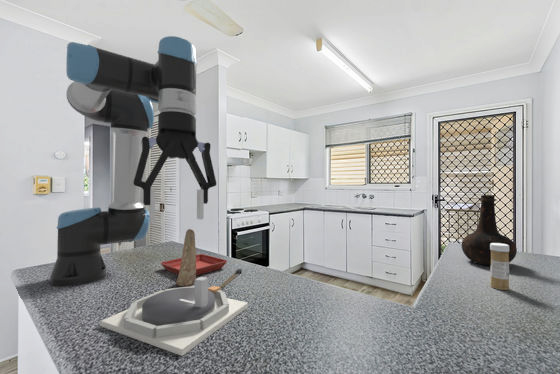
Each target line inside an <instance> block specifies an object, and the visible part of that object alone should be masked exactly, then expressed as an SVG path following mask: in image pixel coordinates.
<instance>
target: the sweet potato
mask: <svg viewBox="0 0 560 374" xmlns="http://www.w3.org/2000/svg"><path fill="white" fill-rule="evenodd" d="M183 240H184V241H183V248H182V255H181V258H182V259H181V265H180V270H179V275H177V276H178V277H177V279H176V282H175V284H176V285H177V286H178V287H179V288H181V287H190V286H194V285H195V279H197V275H196V255H197V249H196V234H195V231H194V230H193V229H191V228H189V229H187V230H186V232H185V236H184V239H183Z"/></svg>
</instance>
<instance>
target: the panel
mask: <svg viewBox="0 0 560 374" xmlns="http://www.w3.org/2000/svg"><path fill="white" fill-rule="evenodd" d="M179 288H195V285H191V286H187V287H186V286H184V287H182V286H181V287H173V288H166V289H161V290H159V291H157V292H156V291H155V292H154V293H153V292H152V293H151V294H148V295H146V296H144V297H141V298H139V299H136V300H134V301H133V302H131V303H130V305H129V307H128V309H126V310H123V311H121V312H119V313H116V314H113V315H112V316H109V317H106V318H104V319H102V320H100V327H102V328H104V329H106V330H107V329H108V330H111V331H113V332H115V333H119V334H120V335H124V336H126V337H129V338H132V339H134V340H138V341H140V342H143V343H144V344H145V343H146V344H148V345H151V346H153V347H157V348H159V349H162V350H164V351H168V352H170V353H173V354H176V355H178V356H182V357H183V356H185V354H187V353H189V352H190V351H191V350H192V349H194V348H195V347H197V346H198V345H199V344H201V343H202V342H203V341H205V340H206V339H208V338H209V337H210V336H211V335H213V334H214V333H215V332H217V331H218V330H220V329H221V328H223V327H224V326H225V325H226V324H228V323H229V322H231V321H232V320H233V319H235V318H236V317H237V316H239V315H240V314H241V313H242V312H244V311H245V310H247V309H248V308H249V302H246V301H242V300H237V299H234V298H227V295H226V292H225V291H224V290H220V289H221V287H219V286H216V285H212V286H210V287H208V290H209V291H211V292H212V293H213V294H214V295H215V308H214V311H213V312H211V313H209V314H208V315H206V316H205V317H203V318H201V319H200V320H194V321H187V322H181V323H174V324H168V325H161V326H155V325H152V324H149V323H146V322H144V321H143V320H142V305H143V303H144V302H145V301H146V300H147V299H148V298H150V297H152V296H154V295H156V294H158V293H161V292H164V291H168V290H173V289H179Z"/></svg>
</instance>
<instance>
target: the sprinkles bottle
mask: <svg viewBox="0 0 560 374" xmlns="http://www.w3.org/2000/svg"><path fill="white" fill-rule="evenodd" d="M490 249H491V266H490V287H491V288H494V289H497V290H501V291H508V290H510V287H509V286H510V263H509V245H507V244H502V243H491V244H490Z"/></svg>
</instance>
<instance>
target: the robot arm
mask: <svg viewBox="0 0 560 374" xmlns="http://www.w3.org/2000/svg"><path fill="white" fill-rule="evenodd" d="M157 49H158V50H157V54H158V58H157V59H158V60H157V61H156V62H155V63H150V62H146V61H144V60H141V59H137V58H134V57H129V56H125V55H122V54H121V53H120V54H119V53H116V52H112V51H109V50H106V49H102V48H99V47H97V46H96V47H95V46H94V45H91V44H83V43H79V42H75V41H71V42H69V43H67V45H66V72H65V73H66V77H67V78H68V80H70V81H73V82H71V83H70V84H69V85H68V87H67V89H66V99H67V102H68V104H69V105H70V106H71V108H72V109H74V111H76V112H78V114H80V115H82V116H84V117H86V118H88V119H90V120H93V121H97V122H100V123H101V122H103V123H108V124H110V130H111V131H112V132H113V133H114V135H115V137H114V138H115V141H114V144H115V145H114V168H113V169H114V171H113V172H114V173H113V174H114V176H113V200H112V202H110V204H108V207H107V208H108V209H107V211H102V208H101V207H88V208H82V209H81V208H80V209H75V210H69V211H65V212H61V214H59V216H58V217H57V226H56V229H57V247H56V248H57V253H56V254H57V257H56V260H55V263H54V266H53V268H52V271H51V273H50V275H49V284H50V285H52V286H54V287H55V286H56V287H67V286H76V285H83V284H87V283H91V282H95V281H98V280H100V279H103V278H104V277H106V276H107V266H106V264H105V261H104V259H103V256H102V254H101V246H102V245H110V244H111V245H112V244H120V243H128V242H129V243H133V242H137V241H141V240H143V239H145V237H146V236H147V235H148V231H149V227H150V223H155V221H156V219H155V218H156V217H155V215H156V211H155V210H156V208H155V207H156V205H155V204H156V189H151V188H152V186H153V184H154V183H155V180H156V179H157V177H158V176H159V174H160V172H161V170H162V168H163V167H164V165H165V163H166V161H167V160H168V159H175V158H178V159H180V160H185V161H186V162H187V164H188V166H189V167H190V168H189V169H190V170H191V172H192V174H193V177H195V180H196V181H197V184H198V185H199V188H200V189H196V219H197V220H204V205H205V204H208V202H209V194H208V193H209V190H210V188H212V187H213V188H214V187H216V186H217V180H216V175H215V172H214V167H213V162H212V158H211V143H210V142H208V141H207V142H201V141H198V139H197V118H196V117H195V115H196V114H197V103H196V102H197V99H196V97H197V65H198V62H197V50H196V47H195V46H194V44H193V43H192V42H190V41H189V40H188V39H185V38H183V37H179V36H173V35H170V36H169V35H168V36H165V37H163V38H161V39H160V40H159V43H158V48H157ZM152 103H154V104H157V107H158V108H157V110H158V112H159V113H158V117H157V119H158V121H157V126H158V127H157V128H158V129H157V135H156V137H148V136H146V135H147V134H148V132H149V131H148V130H150V129H152V128H153V126H154V121H155V114H154V113H155V112H154V107H153V104H152ZM155 144H156V145H157V147H158V148H159V149H160V151H161V153H160V156H159V157H158V159H157V161H156V163H155V164H154V166H153V168H152V170H151V171H150V173H149V175H148V177H147V178H146V180H145V181H143V177H144V173H145V169H146V165H147V162H148V158H149V154H150V149H153V147H154V146H155ZM197 148H198V151H199V153H201V159H202V164H203V167H204V173H205V176H206V177H205V176H204V174H203V172H202V169H201V168H200V166H199V164H198V162H197V160H196V159H197V158H196V156H195V154H194V152H195V149H197ZM141 190H143V191H141ZM141 192H143V195H142V196H143V201H142V202H141V197H142V196H141ZM146 206H148V207H149V208H148V209H147V208H145V207H146Z"/></svg>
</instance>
